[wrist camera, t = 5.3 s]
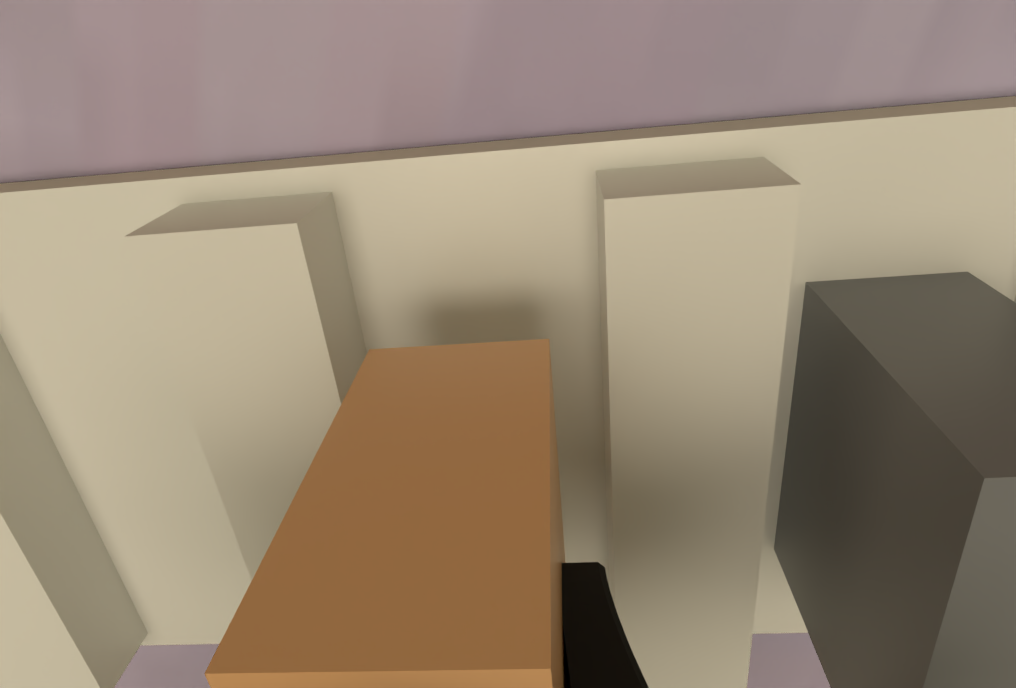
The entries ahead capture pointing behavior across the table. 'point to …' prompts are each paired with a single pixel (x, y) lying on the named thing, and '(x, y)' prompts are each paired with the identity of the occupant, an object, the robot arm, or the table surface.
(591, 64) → the table surface
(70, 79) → the table surface
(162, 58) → the table surface
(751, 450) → the comb rack
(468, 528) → the orange plug
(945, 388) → the seated plug
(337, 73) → the table surface
